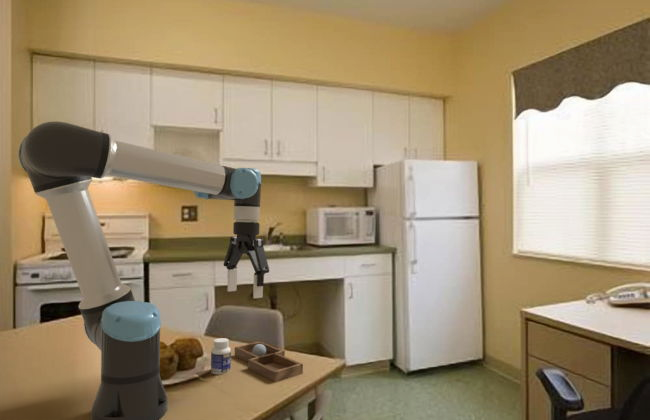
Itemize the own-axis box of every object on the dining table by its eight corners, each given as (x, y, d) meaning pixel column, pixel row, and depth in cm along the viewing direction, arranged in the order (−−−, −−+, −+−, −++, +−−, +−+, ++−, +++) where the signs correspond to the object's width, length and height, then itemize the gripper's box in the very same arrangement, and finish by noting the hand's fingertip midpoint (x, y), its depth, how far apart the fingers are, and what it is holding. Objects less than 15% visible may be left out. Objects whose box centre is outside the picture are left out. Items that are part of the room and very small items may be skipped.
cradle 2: (275, 383, 112) (275, 372, 112) (247, 370, 121) (248, 359, 121) (302, 375, 118) (302, 364, 118) (274, 362, 127) (274, 352, 127)
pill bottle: (225, 376, 116) (226, 343, 116) (207, 375, 117) (207, 342, 117) (233, 369, 122) (234, 338, 122) (216, 368, 123) (216, 336, 123)
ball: (257, 360, 128) (257, 347, 128) (249, 357, 131) (250, 343, 131) (268, 357, 130) (268, 344, 130) (261, 354, 133) (261, 341, 133)
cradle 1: (258, 368, 123) (258, 357, 123) (234, 357, 132) (234, 347, 132) (284, 361, 129) (284, 351, 129) (259, 350, 138) (259, 341, 138)
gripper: (283, 222, 121) (280, 299, 120) (234, 220, 139) (232, 287, 138) (260, 222, 115) (258, 302, 115) (213, 220, 134) (211, 289, 133)
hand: (244, 294), depth 127 cm, fingers open, 13 cm apart
